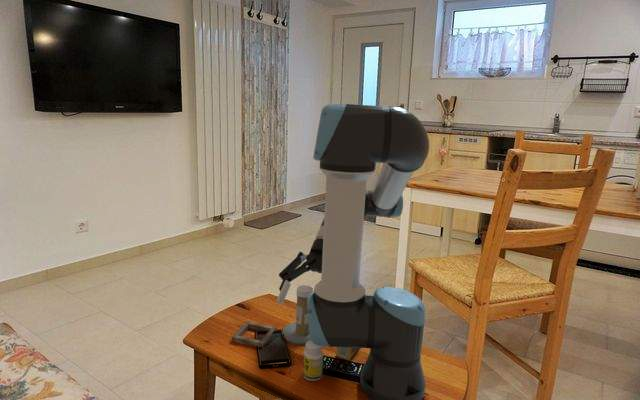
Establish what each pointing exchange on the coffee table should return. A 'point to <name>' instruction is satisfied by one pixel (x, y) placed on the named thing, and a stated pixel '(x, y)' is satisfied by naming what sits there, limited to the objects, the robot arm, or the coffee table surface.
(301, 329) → the sprinkles bottle
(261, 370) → the coffee table surface
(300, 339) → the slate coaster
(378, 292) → the robot arm
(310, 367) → the supplement bottle
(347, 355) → the candy box
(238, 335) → the gray square frame
